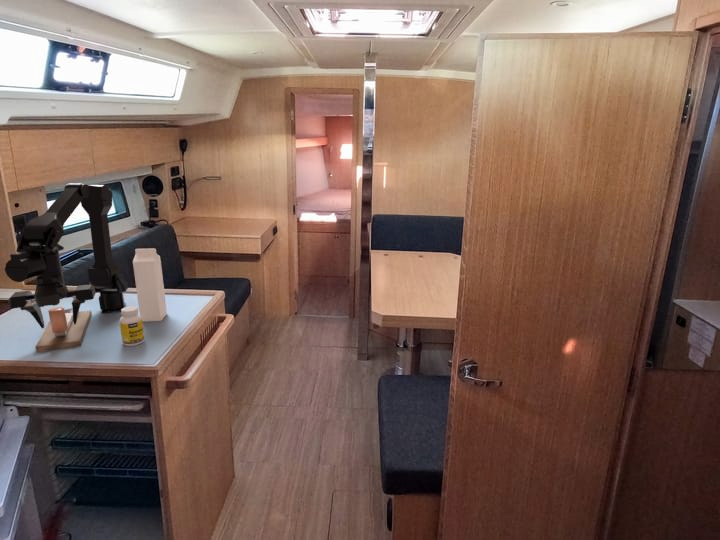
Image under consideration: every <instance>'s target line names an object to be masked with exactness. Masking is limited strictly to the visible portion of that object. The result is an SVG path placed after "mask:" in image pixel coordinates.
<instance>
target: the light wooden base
mask: <svg viewBox="0 0 720 540" xmlns="http://www.w3.org/2000/svg"><path fill="white" fill-rule="evenodd" d="M92 313H93V312H92V310H90V309H89V310H83V311H79V313H78V318H77V322H76V324H74V321H73V320H72V322H71V325H70V327H69V329H68V331H67V333H66V335H64V336H56V337H55V333H53V332H52V327H51V322H50V321H49V322H48V324H47V326H46V328H44V331H43V332H42V335H41V336H40V337H39V340H38V341H37V343H36V345H35V351H36V353H39V351H40V352H45V350H47V351H52V349H54V350H59V348H61V349H66V348H67V347H68V348H72V347H73V348H74V347H75V348H76V347H80V346H82V344H83V340H84V337H85V334H86V333H87V329H88V328H89V327H88V326H89V324H90V322H91V319H90V318H92V316H93V314H92ZM91 315H92V316H91ZM68 348H67V349H68Z"/></svg>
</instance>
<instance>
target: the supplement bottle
mask: <svg viewBox="0 0 720 540" xmlns="http://www.w3.org/2000/svg"><path fill="white" fill-rule="evenodd" d="M120 312H121V313H120V314H121V315H122V316H121V317H120V318H119V326H120V333H121V342H122V344H123V345H124V346H128V347H135V346H137V345H140V344H143V343H144V341H145V333H144V325H143V322H142V317H141V315H140V313H139V307H137V306H136V305H135V306H133V305H129V306H125V308H122V309H121V311H120Z"/></svg>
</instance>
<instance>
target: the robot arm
mask: <svg viewBox="0 0 720 540" xmlns="http://www.w3.org/2000/svg"><path fill="white" fill-rule="evenodd" d="M113 195H114V194H113V192H112V190H111V188H109V186H107V185H105V184H100V185H99V184H85V183H78V182H77V183H76V182H75V183H74V182H72V183H71V182H69V183H67V184H66V185H65V186H64V190H62V192H61V193H60V195H58V196H57V198H56V199H55V200H54V202H53V203H52V204H51V205H50V206H49V207H48V209H47V210H46V211H45V212H44V213H43V214H41V215H39V216H37V217H34V218H32V219H31V220H30V221H28V222H27V223H26V224H25V225H24V227H23V228H22V232H21V236H20V239H19V242H18V245H17V247H16V253H10V255H9V256H10V259H9V260H8V261H7V262H6V263H5V267H4V272H5V274H6V276H7V277H8V278H9V279H10V280H11V281H13V282H15V283H22V282H25V281H28V280H30V279H33V278H35V279H36V285H35V286H36V287H35V291H34V293H33V292H32V291H31V290H24V291H23V290H22V291H21V290H20V291H14V293H13V294H12V295H11V296H10V297H9V298H8V301H7V302H8V308H9V309H19V308H20V310H21V311H25V312H28V313H30V315H31V316H32V317H33V318H34V319H35V321H36V322H37V323H38V325H39V327H40V328H41V329H45V320H44V316H43V313H42V309H41V308H43V307H45V306H46V307H47V306H57V305H59V304H60V303H61V300H63V299H69V298H72V299H73V300H72V302H71V305H72V306H71V307H72V308H73V321H74V324H76V322H77V318H78V313H79V312H80V308H81V305H82V304H85V302H86V301H91V300H93V299H94V298H95V296H96V294H97V293H99V295H98V302H99V303H98V304H99V309H100V311H101V314H105V313H114V312H113V311H116V312H121V309H122V308H125V307H126V306H125V305H126V302H125V297H124V296H125V295H124V293H125V292H127V290H128V287H129V282H128V281H127V280H126V279H125V278H124V277H123V276H122V275H121V271H120V267H118V265H117V263H115V261H114V260H113V253H112V252H113V251H112V243H111V236H110V235H111V234H110V227H109V226H110V225H109V217H108V216H109V215H108V214H109V212H110V210H111V209H112V207H113ZM80 204H81V207H82V209H83V210H84V211H85V212H86V213H87V215H88V217H89V220H88V221H89V227H90V235H91V243H92V252H93V264H92V266H91V267H89V268H88V269H87V274H88V282H89V284H82V285H80V284H79V285H77V286H76V288H75V289H71V290H70V289H69V290H68V286H67V285H66V284H65V279H64V274H63V269H62V268H63V267H62V263H61V258H60V251H63V250H65V248H64V246H62V245H61V244H59V242H60V241H61V239H62V237H63V235H64V233H65V230H64V225H65V223H66V222H67V220H68V219H69V218H70V217H71V215H72V214H73V213H74V211H75V210H76V209H77V207H78V206H79V205H80Z"/></svg>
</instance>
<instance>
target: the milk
mask: <svg viewBox="0 0 720 540" xmlns="http://www.w3.org/2000/svg"><path fill="white" fill-rule="evenodd" d="M134 251H135V253H134V254H135V255H134V257H133V259H132V265H133V273H134V274H133V275H134V279H135V288H136V297H137V303H138V304H137V305H138V312H139V315H141V317H142V323H143V322H161V321H162V320H163V319H164V318H165V317H166V316H167V315H168V311H167V304H166V303H167V302H166V295H165V294H166V293H165V287H164V286H165V285H164V279H163V278H164V276H163V269H162V260H161V256H160V255H159V254H158V253H157V249H156V248H153V247H152V248H135V250H134Z"/></svg>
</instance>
